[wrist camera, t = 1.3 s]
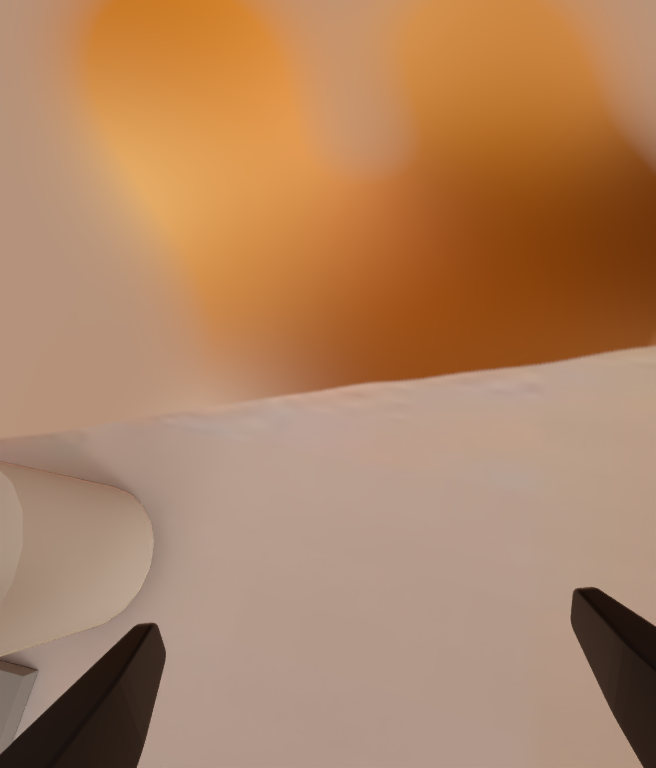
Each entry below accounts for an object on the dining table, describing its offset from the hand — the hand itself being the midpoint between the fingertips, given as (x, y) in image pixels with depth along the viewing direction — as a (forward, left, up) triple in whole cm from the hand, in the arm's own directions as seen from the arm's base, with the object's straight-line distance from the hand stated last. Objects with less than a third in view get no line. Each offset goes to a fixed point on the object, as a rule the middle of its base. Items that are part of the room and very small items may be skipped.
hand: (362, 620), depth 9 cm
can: (-2, +15, -14) cm, 21 cm away
